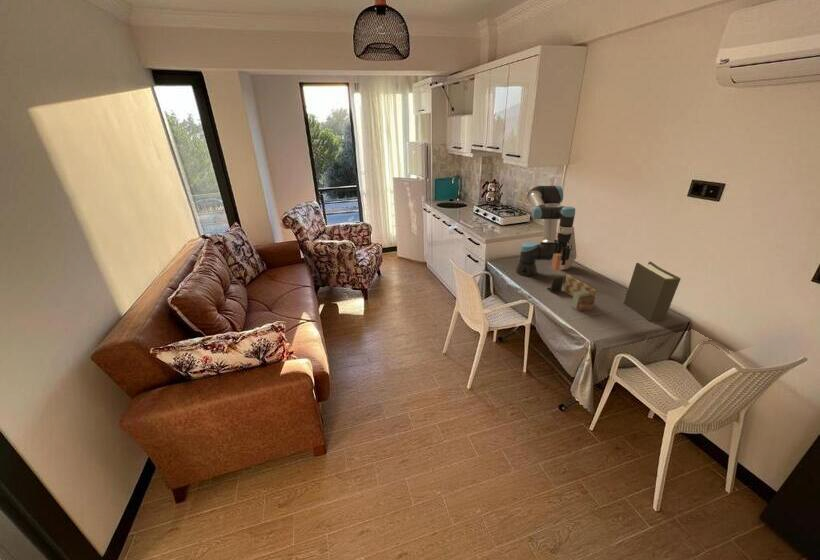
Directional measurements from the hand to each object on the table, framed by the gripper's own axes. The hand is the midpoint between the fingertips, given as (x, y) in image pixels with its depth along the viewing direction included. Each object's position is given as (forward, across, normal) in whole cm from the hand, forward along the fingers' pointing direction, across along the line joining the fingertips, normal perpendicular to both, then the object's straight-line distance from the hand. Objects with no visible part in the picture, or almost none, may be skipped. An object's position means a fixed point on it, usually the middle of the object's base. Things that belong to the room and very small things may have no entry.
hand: (558, 267), depth 210 cm
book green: (+20, +17, +5) cm, 27 cm away
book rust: (+1, 0, 0) cm, 1 cm away
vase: (+18, -36, +34) cm, 53 cm away
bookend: (+19, -6, +4) cm, 21 cm away
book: (+20, +35, +36) cm, 54 cm away
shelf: (+20, +10, +6) cm, 23 cm away
